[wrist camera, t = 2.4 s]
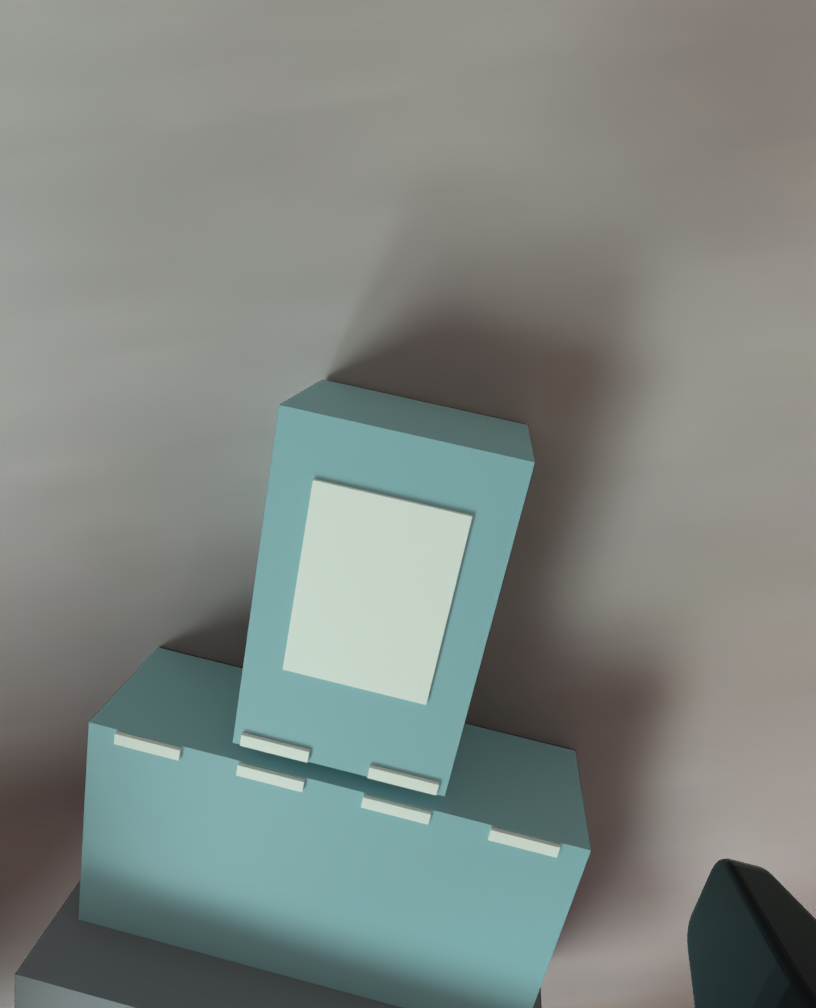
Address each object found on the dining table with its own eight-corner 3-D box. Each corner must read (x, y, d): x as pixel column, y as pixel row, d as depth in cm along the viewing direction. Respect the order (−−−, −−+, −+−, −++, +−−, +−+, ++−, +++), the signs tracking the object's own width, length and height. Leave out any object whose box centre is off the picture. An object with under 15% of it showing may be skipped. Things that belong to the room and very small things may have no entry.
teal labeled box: (454, 705, 19) (444, 799, 16) (278, 662, 19) (231, 745, 16) (527, 425, 16) (534, 463, 13) (322, 379, 17) (277, 405, 13)
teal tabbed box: (522, 966, 22) (528, 1169, 17) (120, 860, 22) (14, 1023, 17) (596, 756, 19) (630, 924, 14) (137, 642, 20) (17, 763, 15)
